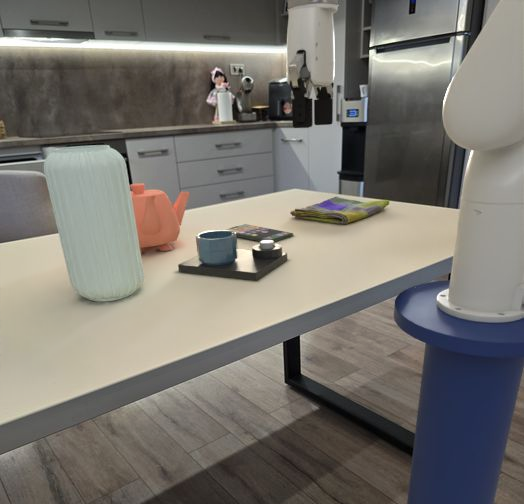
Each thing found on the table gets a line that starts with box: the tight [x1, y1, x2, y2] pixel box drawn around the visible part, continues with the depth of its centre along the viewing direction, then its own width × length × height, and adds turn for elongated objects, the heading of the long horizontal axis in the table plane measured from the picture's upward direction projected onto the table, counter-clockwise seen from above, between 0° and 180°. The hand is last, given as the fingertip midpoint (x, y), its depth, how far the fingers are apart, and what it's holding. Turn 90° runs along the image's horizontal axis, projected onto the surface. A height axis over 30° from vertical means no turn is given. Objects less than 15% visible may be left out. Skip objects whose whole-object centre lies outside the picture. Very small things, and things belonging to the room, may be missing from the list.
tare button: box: [259, 240, 275, 249], centre depth 89 cm, size 3×3×1 cm
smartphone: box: [225, 223, 294, 243], centre depth 110 cm, size 8×15×1 cm, turn 48°
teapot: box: [129, 182, 191, 255], centre depth 101 cm, size 16×17×14 cm
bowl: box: [195, 229, 239, 266], centre depth 87 cm, size 7×7×5 cm
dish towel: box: [290, 196, 390, 225], centre depth 128 cm, size 18×24×3 cm
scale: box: [177, 242, 288, 282], centre depth 89 cm, size 16×13×3 cm
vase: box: [43, 144, 145, 303], centre depth 74 cm, size 12×12×22 cm
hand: (313, 125), depth 80 cm, fingers open, 9 cm apart
